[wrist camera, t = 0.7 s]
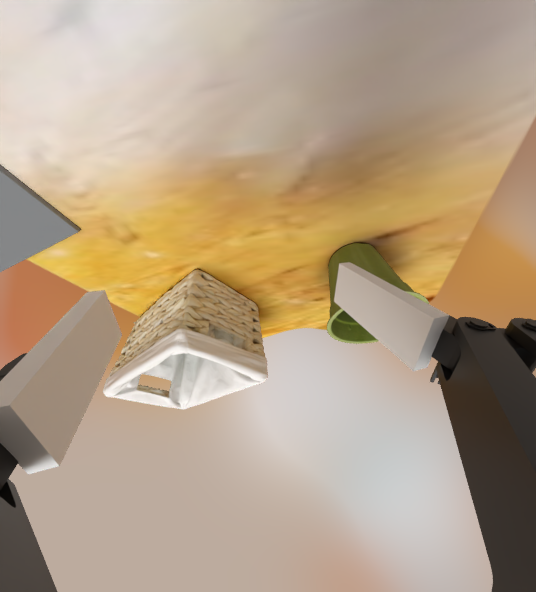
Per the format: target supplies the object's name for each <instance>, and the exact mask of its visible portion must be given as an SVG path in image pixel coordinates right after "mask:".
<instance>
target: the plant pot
mask: <svg viewBox="0 0 536 592" xmlns="http://www.w3.org/2000/svg"><path fill="white" fill-rule="evenodd" d="M347 262H350V263H352V264H354V265H356V266H358V267H360V268H362V269H364V270H365V271H367V272H369V273H371V274H373V275H375V276H377V277H379V278H380V279H382V280H384V281H386V282H388V283H390V284H392V285H394V286H395V287H397V288H399V289H401V290H403V291H405V292H407V293H409V294H410V295H412V296H414V297H416V298H418V299H420V300H422V301H424V302H425V303H427V304H429V302H428V300H427V299H426V298H425V297H424V296H422V295H421V294H419V293H416V292H414V291H413V290H412V289H411V288H410V287H409V286H408V285H407V284H406V283H404V282H403V281H402V280H401V279H400V278H399V276H398V275H397V274H396V273H395V272H394V271H393V269H392V268H391V267H390V266H389V265H388V263H387V262H386V261H385V260H384V259H383V258H382V256H381V255H380V254H379V253H378V252H377V251H376V249H375V248H374V247H373V246H371V245H369V244H360V243H353V244H350V245H347V246H344V247H342V248H341V249H339V250H338V251H337V252H335V253H334V254H333V256H332V257H331V260H330V262H329V265H328V268H329V284H330V300H331V307H330V319H329V321H328V324H327V331H328V333H329V335H330V336H331V337H332V338H334V339H336V340H338V341H341V342H345V343H356V344H357V343H358V344H359V343H372V342H377V341H378V340H377V339H376V338H375V337H374V336H373V335H371V334H370V333H369V332H368V331H367V330H366V329H365V328H364V327H362V326H361V325H360V324H359V323H358V322H357V321H356V320H354V319H353V318H352V317H351V316H350V315H349V314H348V313H346V312H345V311H344V310H343V309H342V308H341V307H340V306H339V305H337V304H336V303H335V302H334V297H335V290H336V283H337V276H338V269H339V263H347Z"/></svg>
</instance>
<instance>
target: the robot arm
mask: <svg viewBox="0 0 536 592" xmlns="http://www.w3.org/2000/svg"><path fill="white" fill-rule="evenodd" d="M334 302H335V303H336V304H337V305H339V306H340V307H341V308H342V309H343V310H344V311H345V312H346V313H348V314H349V315H350V316H351V317H352V318H353V319H354V320H356V321H357V322H358V323H359V324H360V325H361V326H362V327H364V328H365V329H366V330H367V331H368V332H369V333H370V334H371V335H373V336H374V337H375V338H376V339H377V340H378V341H379V342H381V343H382V344H383V345H384V346H385V347H386V348H387V349H389V350H390V351H391V352H392V353H393V354H394V355H395V356H396V357H398V358H399V359H400V360H401V361H402V362H403V363H404V364H406V365H407V366H408V367H409V368H410V369H411V370H412V371H416V370H420V369H424V368H427V367H428V364H429V362H430V360H431V357H433V358H435V359H436V360H437V361H438V363H437V366H436V368H435V370H434V372H433V374H432V377H431V380H430V381H431V382H434V380H435V378H439V381H438V384H440V385H441V389H442V392H443V396H444V399H445V403H446V406H447V410H448V414H449V417H450V421H451V424H452V428H453V431H454V435H455V438H456V442H457V446H458V449H459V453H460V457H461V460H462V464H463V467H464V471H465V475H466V478H467V482H468V485H469V489H470V493H471V496H472V500H473V503H474V507H475V510H476V514H477V518H478V521H479V525H480V528H481V532H482V535H483V539H484V543H485V546H486V550H487V554H488V557H489V561H490V564H491V569H492V574H493V587H492V592H536V378H535V376H534V375H533V374H532V372H533V371H534V370H535V368H536V320H532V319H523V318H514V319H512V320H511V321H510V323H509V325H508V326H507V328H506V329H504V328H496V327H495V326H494V325H492V324H490V323H488V322H485V321H483V320H480V319H476V318H471V317H460V318H459V319H455V318H454V317H452V316H450V315H448V314H446V313H444V312H442V311H440V310H438V309H437V308H435V307H433V306H431V305H429V304H427V303H425V302H424V301H422V300H420V299H418V298H416V297H414V296H412V295H410V294H409V293H407V292H405V291H403V290H401V289H399V288H397V287H395V286H394V285H392V284H390V283H388V282H386V281H384V280H382V279H380V278H379V277H377V276H375V275H373V274H371V273H369V272H367V271H365V270H364V269H362V268H360V267H358V266H356V265H354V264H352V263H350V262H347V263H339V269H338V276H337V283H336V290H335V297H334ZM121 336H122V333H121V331H120V328H119V326H118V323H117V321H116V318H115V316H114V313H113V310H112V308H111V305H110V302H109V300H108V297H107V295H106V292H105V290H103V291H94V292H87V293H86V294H85V295H84V296H83V297H82V298H81V299H80V300H79V301H78V302H77V303H76V304H75V305H74V306H73V307H72V308H71V309H70V310H69V311H68V312H67V313H66V314H65V315H64V317H62V318H61V320H60V321H59V322H58V323H57V324H56V325H55V326H54V327H53V328H52V329H51V330H50V331H49V332H48V333H47V334H46V335H45V336H44V337H43V338H42V339H41V340H40V341H39V342H38V343H37V344H36V345H35V346H34V347H33V348H32V349H31V350H30V351H29V352H28V353H25V354H22V355H21V356H19V357H18V358H16V359H14V360H13V361H11V362H10V363H8V364H7V365H5V366H4V367H3V368H2V369H1V370H0V592H57V590H56V587H55V585H54V582H53V580H52V577H51V575H50V572H49V570H48V567H47V565H46V562H45V560H44V557H43V555H42V552H41V550H40V547H39V545H38V542H37V540H36V537H35V535H34V532H33V530H32V527H31V525H30V522H29V520H28V517H27V515H26V512H25V510H24V507H23V505H22V502H21V500H20V497H19V495H18V492H17V490H16V487H15V485H14V484H13V483H12V482H11V481H10V480H9V479H8V478H9V476H10V475H11V473H12V472H13V470H14V468H15V467H16V465H17V464H19V465H20V466H21V467H22V468H23V469H24V470H25V471H26V472H27V473H28V474H31V473H35V472H39V471H43V470H47V469H50V468H54V467H58V466H60V464H61V462H62V460H63V458H64V456H65V454H66V451H67V449H68V447H69V445H70V443H71V441H72V439H73V437H74V435H75V433H76V431H77V428H78V426H79V424H80V422H81V420H82V418H83V416H84V414H85V412H86V410H87V408H88V405H89V403H90V401H91V399H92V397H93V395H94V393H95V391H96V389H97V387H98V385H99V382H100V380H101V378H102V376H103V374H104V372H105V370H106V368H107V365H108V364H109V362H110V359H111V357H112V355H113V353H114V351H115V349H116V347H117V345H118V343H119V340H120V338H121Z"/></svg>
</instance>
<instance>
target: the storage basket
mask: <svg viewBox="0 0 536 592" xmlns="http://www.w3.org/2000/svg"><path fill="white" fill-rule="evenodd" d="M258 316H259V313H258V307H257V305H256V304H255V303H254V302H253V301H251V300H249V299H247V298H246V297H244V296H243V295H241V294H239V293H237V292H236V291H235V290H233V289H232V288H230V287H228V286H226V285H225V284H223V283H222V282H220V281H218V280H216V279H214V277H212V276H211V275H209V274H207V273H205V272H202V271H200V270H194V271H192V272H191V273H190V274H189V275H188V276H186V277H185V278H184V279H183V280H182V281H181V282H179V283H178V284H176V285H175V286H174V287H173V289H172V290H169V291H167V292H166V293H165V294H164V296H162V297H161V298H159V299H158V301H157V302H156V303H155V304H154V305H153V306H151V308H150V309H149V310H147V311H146V312H145V313H144V314H143V315H142V316H141V317H140V318H139V319H138V320H137V321H136V322H134V323H135V325H134V327H133V329H132V332H131V334H130V336H129V337H128V339H127V344H125V346H124V347H123V349H122V351H121V355H120V357H119V359H118V361H117V362H116V363H115V367H114V368H113V369H112V371H111V373H110V377H109V378H107V380H106V383H105V386H104V390H103V392H104V394H105V396H107V397H115V398H119V399H125V400H130V401H136V402H141V403H147V404H153V405H158V406H164V407H173V408H178V409H187V408H189V407H192V406H196V405H199V404H202V403H205V402H208V401H210V400H213V399H216V398H219V397H221V396H224V395H227V394H230V393H233V392H236V391H239V390H242V389H245V388H248V387H251V386H254V385H257V384H260V383H263V382H264V381H266V380H267V378H268V372H267V360H266V358H265V353H264V351H263V350H264V347H263V345H262V342H263V340H262V334H261V327H260V322H259V317H258ZM141 374H146V375H152V376H156V377H160V378H164V379H168V380H170V381H171V382H172V384H171V387H170V391H169V392H168V391H165V390H160V389H155V388H152V387H151V388H150V387H148V386H142V385H138V382H139V378H140V375H141Z"/></svg>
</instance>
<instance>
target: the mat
mask: <svg viewBox="0 0 536 592" xmlns="http://www.w3.org/2000/svg"><path fill="white" fill-rule="evenodd" d="M79 231H80V228H79V227H78V226H76V225H75V224H74V223H73V222H71V221H70V220H69V219H67V218H66V217H65V216H64V215H62V214H61V213H60V212H59V211H57V210H56V209H55V208H54V207H52V206H51V205H50V204H49V203H47V202H46V201H45V200H44V199H42V198H41V197H40V196H39V195H37V194H36V193H35V192H33V191H32V190H31V189H30V188H28V187H27V186H26V185H25V184H23V183H22V182H21V181H20V180H18V179H17V178H16V177H15V176H13V175H12V174H11V173H10V172H8V171H7V170H6V169H5V168H3V167H2V166H1V165H0V272H2V271H3V270H5V269H7V268H9V267H11V266H13V265H15V264H17V263H19V262H21V261H23V260H25V259H27V258H29V257H31V256H33V255H35V254H37V253H38V252H40V251H42V250H44V249H46V248H48V247H50V246H52V245H54V244H56V243H58V242H60V241H62V240H64V239H66V238H68V237H69V236H71V235H73V234H75V233H77V232H79Z"/></svg>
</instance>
